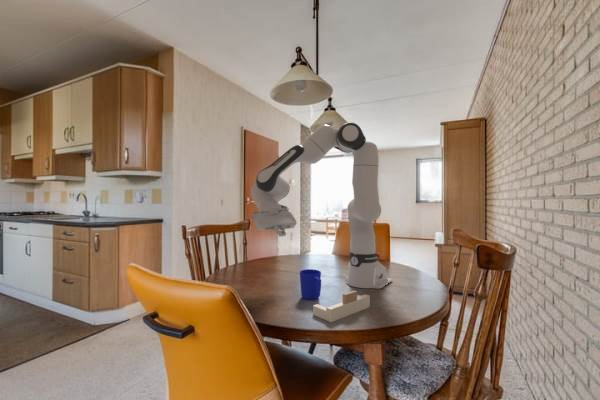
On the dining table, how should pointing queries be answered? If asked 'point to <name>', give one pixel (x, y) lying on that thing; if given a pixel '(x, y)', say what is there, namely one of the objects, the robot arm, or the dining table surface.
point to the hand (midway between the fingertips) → (283, 235)
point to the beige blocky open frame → (343, 307)
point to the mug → (310, 283)
